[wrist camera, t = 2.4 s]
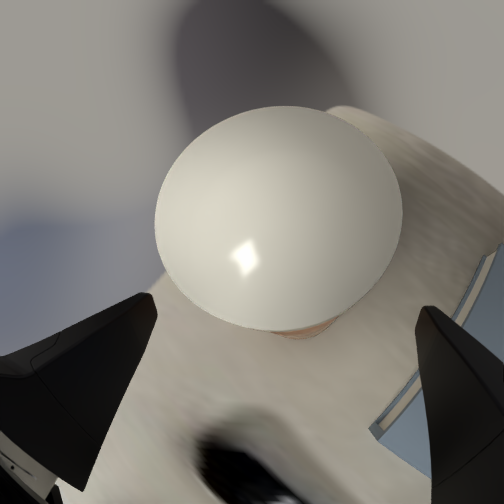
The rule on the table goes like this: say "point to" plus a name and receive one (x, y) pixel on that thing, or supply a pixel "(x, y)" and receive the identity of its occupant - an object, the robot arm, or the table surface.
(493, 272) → the book
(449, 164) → the table surface
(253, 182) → the canister
